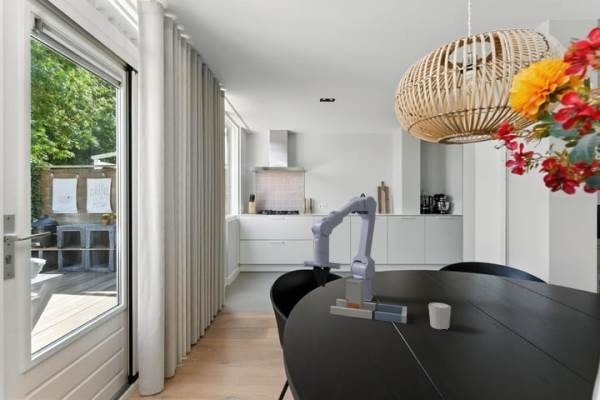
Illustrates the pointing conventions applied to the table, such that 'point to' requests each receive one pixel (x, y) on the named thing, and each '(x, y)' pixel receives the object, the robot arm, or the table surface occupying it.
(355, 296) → the skincare box
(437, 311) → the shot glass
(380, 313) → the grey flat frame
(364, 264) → the robot arm
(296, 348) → the table surface
